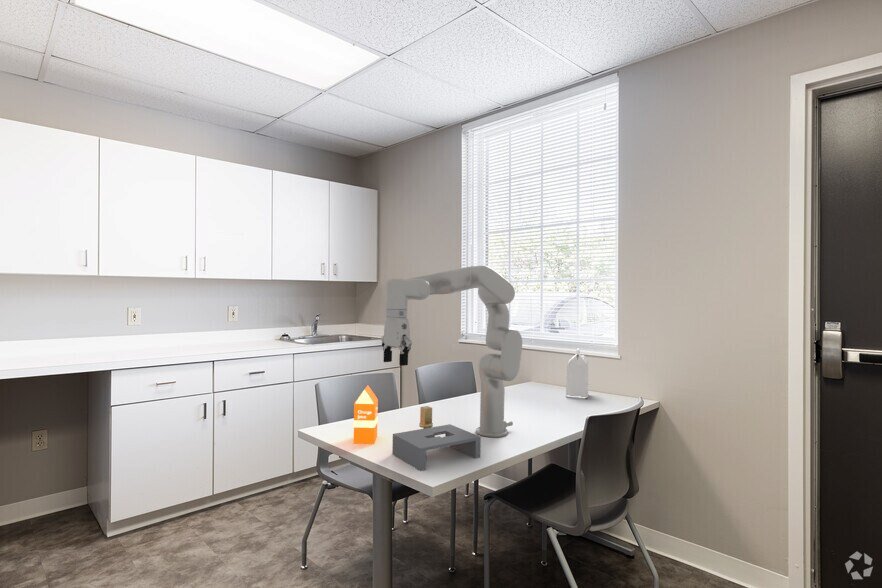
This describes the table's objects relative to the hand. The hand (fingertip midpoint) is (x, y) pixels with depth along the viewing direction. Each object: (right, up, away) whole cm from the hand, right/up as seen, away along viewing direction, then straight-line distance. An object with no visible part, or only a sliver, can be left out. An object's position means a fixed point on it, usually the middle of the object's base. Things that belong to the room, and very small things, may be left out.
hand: (395, 363), depth 167 cm
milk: (+91, -32, +99) cm, 138 cm away
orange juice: (-12, -31, +12) cm, 35 cm away
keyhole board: (+14, -31, -4) cm, 34 cm away
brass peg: (+10, -31, +13) cm, 35 cm away
